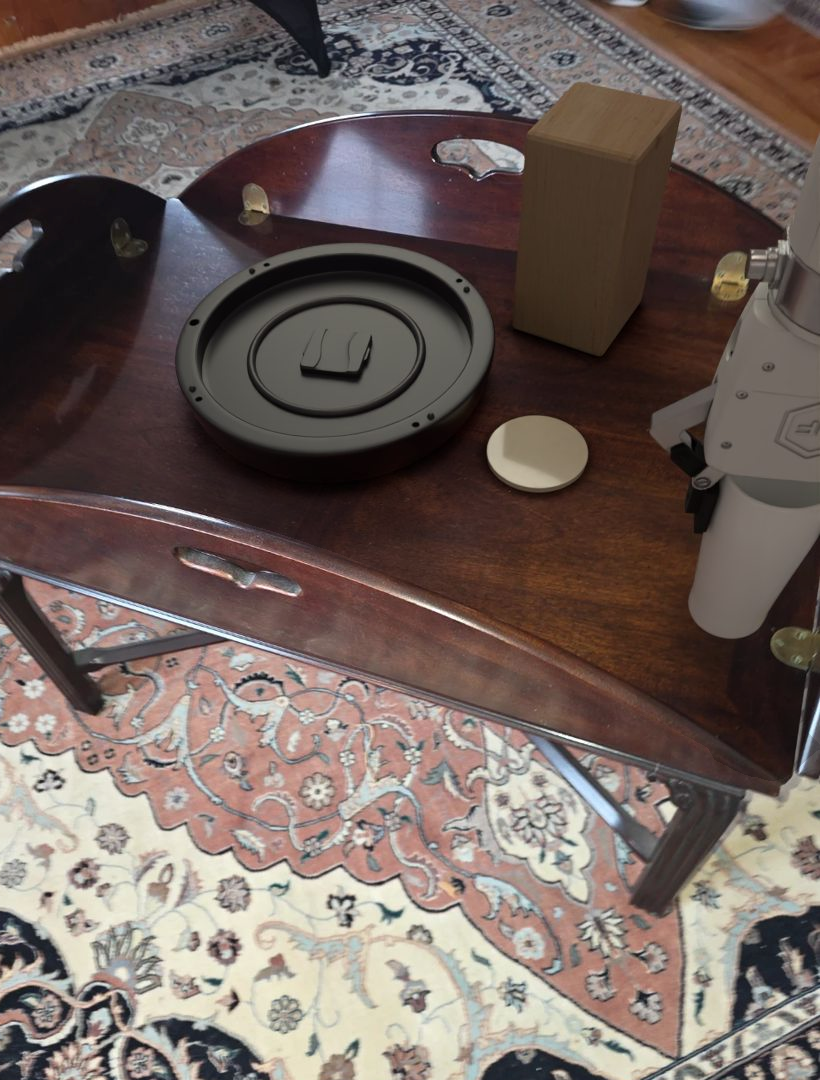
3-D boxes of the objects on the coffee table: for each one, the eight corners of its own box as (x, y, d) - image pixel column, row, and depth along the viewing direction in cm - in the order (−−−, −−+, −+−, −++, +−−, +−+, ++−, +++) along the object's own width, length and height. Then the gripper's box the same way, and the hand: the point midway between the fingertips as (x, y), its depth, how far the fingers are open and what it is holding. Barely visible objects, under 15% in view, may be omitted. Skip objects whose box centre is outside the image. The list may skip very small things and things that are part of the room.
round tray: (509, 298, 92) (238, 280, 97) (513, 247, 87) (227, 230, 92) (469, 515, 76) (146, 479, 81) (470, 467, 71) (126, 432, 76)
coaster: (590, 424, 81) (591, 420, 80) (583, 497, 76) (584, 493, 75) (493, 415, 82) (493, 411, 82) (479, 486, 77) (480, 482, 77)
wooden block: (642, 302, 90) (685, 101, 74) (601, 359, 86) (638, 159, 69) (553, 275, 94) (575, 78, 77) (509, 329, 89) (524, 132, 73)
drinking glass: (718, 666, 61) (778, 530, 49) (656, 598, 65) (698, 456, 53) (795, 624, 62) (872, 481, 50) (730, 560, 66) (787, 412, 54)
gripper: (666, 319, 41) (616, 555, 55) (1092, 340, 37) (919, 585, 52) (670, 225, 45) (622, 468, 59) (1054, 236, 41) (903, 491, 56)
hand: (761, 521), depth 55 cm, fingers closed on drinking glass, 6 cm apart
